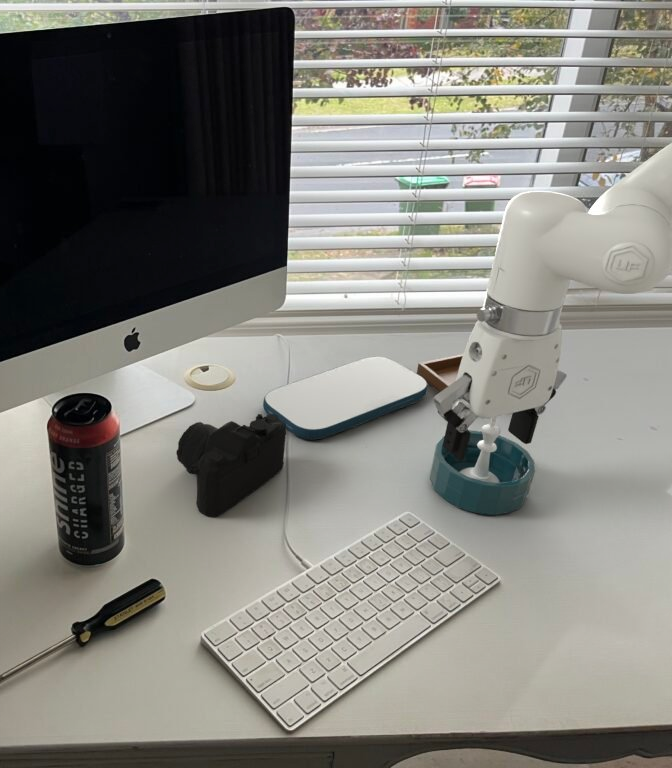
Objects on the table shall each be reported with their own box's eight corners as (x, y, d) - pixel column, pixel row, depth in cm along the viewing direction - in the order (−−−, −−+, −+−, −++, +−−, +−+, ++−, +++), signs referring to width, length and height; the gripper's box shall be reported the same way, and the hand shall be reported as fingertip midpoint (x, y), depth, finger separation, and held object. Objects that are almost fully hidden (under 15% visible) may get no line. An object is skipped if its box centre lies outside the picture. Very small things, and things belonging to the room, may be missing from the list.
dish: (484, 451, 102) (491, 422, 100) (547, 504, 93) (556, 474, 91) (410, 470, 99) (416, 440, 97) (468, 526, 90) (476, 495, 88)
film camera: (234, 437, 105) (236, 379, 101) (293, 468, 99) (298, 408, 95) (152, 489, 96) (151, 427, 92) (212, 526, 90) (214, 463, 86)
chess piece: (453, 490, 95) (469, 420, 90) (459, 467, 99) (475, 399, 93) (497, 501, 93) (516, 431, 88) (501, 477, 97) (519, 409, 92)
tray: (473, 362, 122) (475, 351, 121) (519, 395, 113) (522, 384, 112) (416, 374, 119) (418, 362, 118) (459, 409, 110) (462, 397, 109)
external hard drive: (378, 363, 122) (379, 351, 121) (436, 397, 113) (438, 385, 112) (253, 407, 111) (254, 395, 110) (306, 448, 103) (308, 436, 102)
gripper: (475, 341, 78) (443, 480, 87) (613, 314, 83) (569, 448, 92) (429, 309, 84) (404, 442, 93) (560, 286, 89) (524, 414, 98)
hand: (486, 445), depth 93 cm, fingers open, 8 cm apart
